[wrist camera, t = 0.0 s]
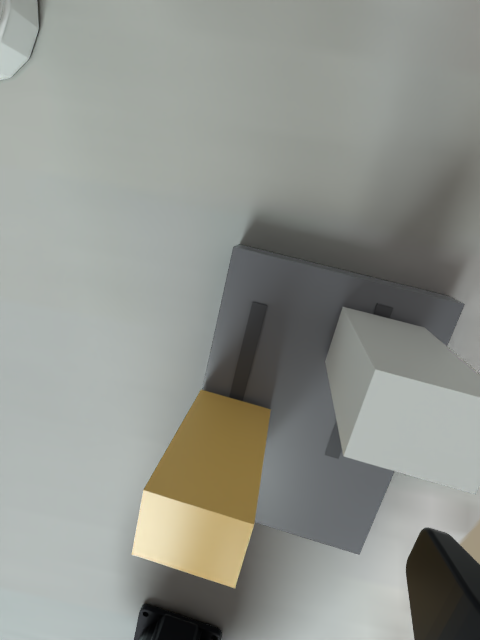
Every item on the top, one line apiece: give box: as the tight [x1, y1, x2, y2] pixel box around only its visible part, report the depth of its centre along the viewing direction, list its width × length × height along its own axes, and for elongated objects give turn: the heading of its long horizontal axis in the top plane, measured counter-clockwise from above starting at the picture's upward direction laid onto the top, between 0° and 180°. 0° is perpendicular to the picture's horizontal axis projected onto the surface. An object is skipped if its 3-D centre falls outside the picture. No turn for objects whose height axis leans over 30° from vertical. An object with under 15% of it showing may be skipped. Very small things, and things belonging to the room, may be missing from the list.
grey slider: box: [325, 307, 480, 495], centre depth 15 cm, size 3×4×8 cm
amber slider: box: [132, 390, 271, 588], centre depth 17 cm, size 3×4×8 cm
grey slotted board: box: [202, 244, 465, 554], centre depth 21 cm, size 16×12×2 cm
